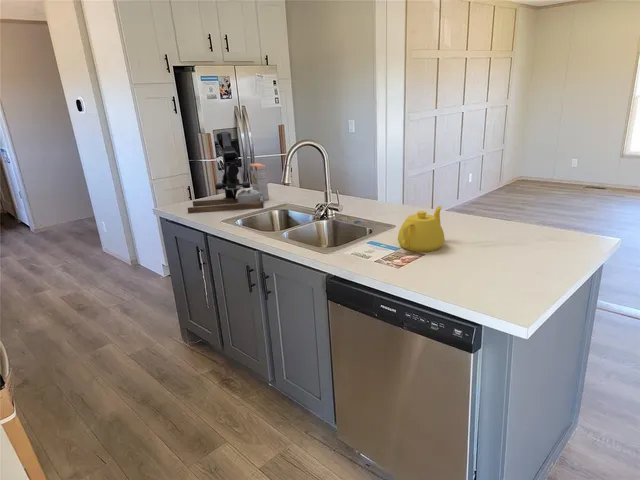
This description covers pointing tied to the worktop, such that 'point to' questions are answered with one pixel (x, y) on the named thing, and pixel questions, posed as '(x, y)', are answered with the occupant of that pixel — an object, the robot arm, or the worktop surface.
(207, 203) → the guide rails
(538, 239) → the worktop surface
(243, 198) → the lumpy-topped squat cylinder
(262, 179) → the cracker box
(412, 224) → the teapot
